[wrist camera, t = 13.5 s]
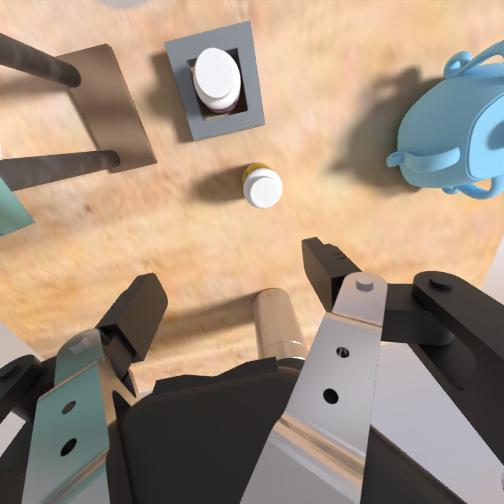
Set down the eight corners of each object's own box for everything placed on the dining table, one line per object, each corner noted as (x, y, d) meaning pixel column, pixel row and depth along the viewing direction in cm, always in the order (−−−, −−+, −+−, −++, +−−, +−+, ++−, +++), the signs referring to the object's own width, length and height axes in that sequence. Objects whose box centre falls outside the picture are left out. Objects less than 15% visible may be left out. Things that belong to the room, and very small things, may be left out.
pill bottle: (202, 112, 30) (189, 102, 22) (200, 65, 28) (185, 32, 19) (238, 116, 31) (239, 108, 22) (240, 70, 28) (242, 41, 20)
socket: (262, 125, 32) (265, 124, 29) (197, 140, 32) (193, 140, 29) (248, 32, 26) (250, 20, 24) (170, 51, 27) (164, 42, 24)
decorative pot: (424, 199, 40) (505, 225, 28) (363, 158, 35) (429, 169, 23) (504, 108, 33) (656, 92, 21) (442, 44, 28) (591, -23, 17)
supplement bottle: (241, 162, 34) (242, 171, 25) (274, 161, 34) (287, 170, 25) (242, 196, 37) (244, 214, 28) (272, 195, 37) (284, 213, 28)
